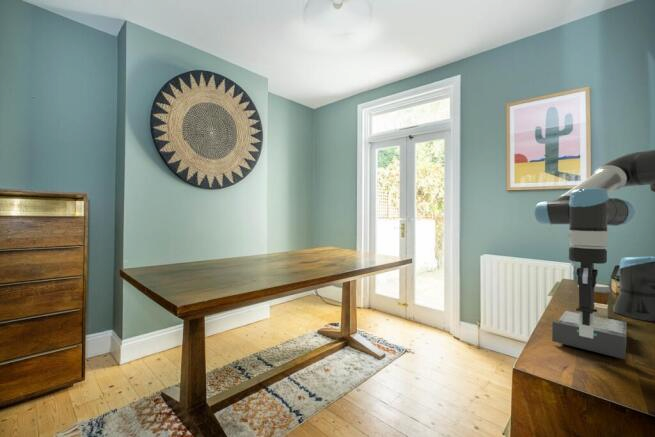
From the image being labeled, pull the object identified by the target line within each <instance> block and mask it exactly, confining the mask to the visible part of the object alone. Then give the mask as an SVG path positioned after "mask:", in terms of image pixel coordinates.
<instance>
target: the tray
mask: <svg viewBox="0 0 655 437" xmlns="http://www.w3.org/2000/svg"><path fill="white" fill-rule="evenodd" d="M551 332H552V336H551V337H552V338H551V339H552V340H551V341H552V342H554V343H558V344H562V345H567V346H571V347H574V348H578V349H582V350H587V351H590V352H594V353H597V354H602V355H606V356H609V357H613V358H618V359H621V360H626V359H627V358H626V357H627V356H626V355H627V354H626V353H627V335H626V336H622V335H617V334H612V333H607V332H602V331H598V330H593V339H592V338H587V337H583V336H579V326H574V325H569V324H564V323H560V322H559V321H554V320H552V331H551Z"/></svg>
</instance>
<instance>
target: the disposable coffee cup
mask: <svg viewBox="0 0 655 437" xmlns="http://www.w3.org/2000/svg"><path fill="white" fill-rule="evenodd" d="M577 288H578V289H579V285H578V284H577ZM611 291H612V289H611V288H610V286H609V285H607V284H603V283H597V282H596V285H595V287H594V303H598V304H605V305H608V301H609V296H610V295H609V294H610V293H611Z"/></svg>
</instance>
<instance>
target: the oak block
mask: <svg viewBox="0 0 655 437" xmlns="http://www.w3.org/2000/svg"><path fill="white" fill-rule="evenodd" d="M594 309H597V312H594V316H598V317H603V318H608V319H609V304H607V305H605V304H598V303H594Z"/></svg>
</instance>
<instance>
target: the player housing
mask: <svg viewBox="0 0 655 437" xmlns="http://www.w3.org/2000/svg"><path fill="white" fill-rule="evenodd" d="M579 313H580V312H577V311H576V312H574V311H570V310H564V312H563V314H562V315H561V317H560V318H559V319H558V322H560V323H564V324H569V325H574V326H579ZM593 330H598V331H602V332H607V333H612V334H617V335H622V336H626V337H627V321H624V320H619V319H613V318H609V317H608V318H603V317H598V316H594V327H593Z"/></svg>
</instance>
